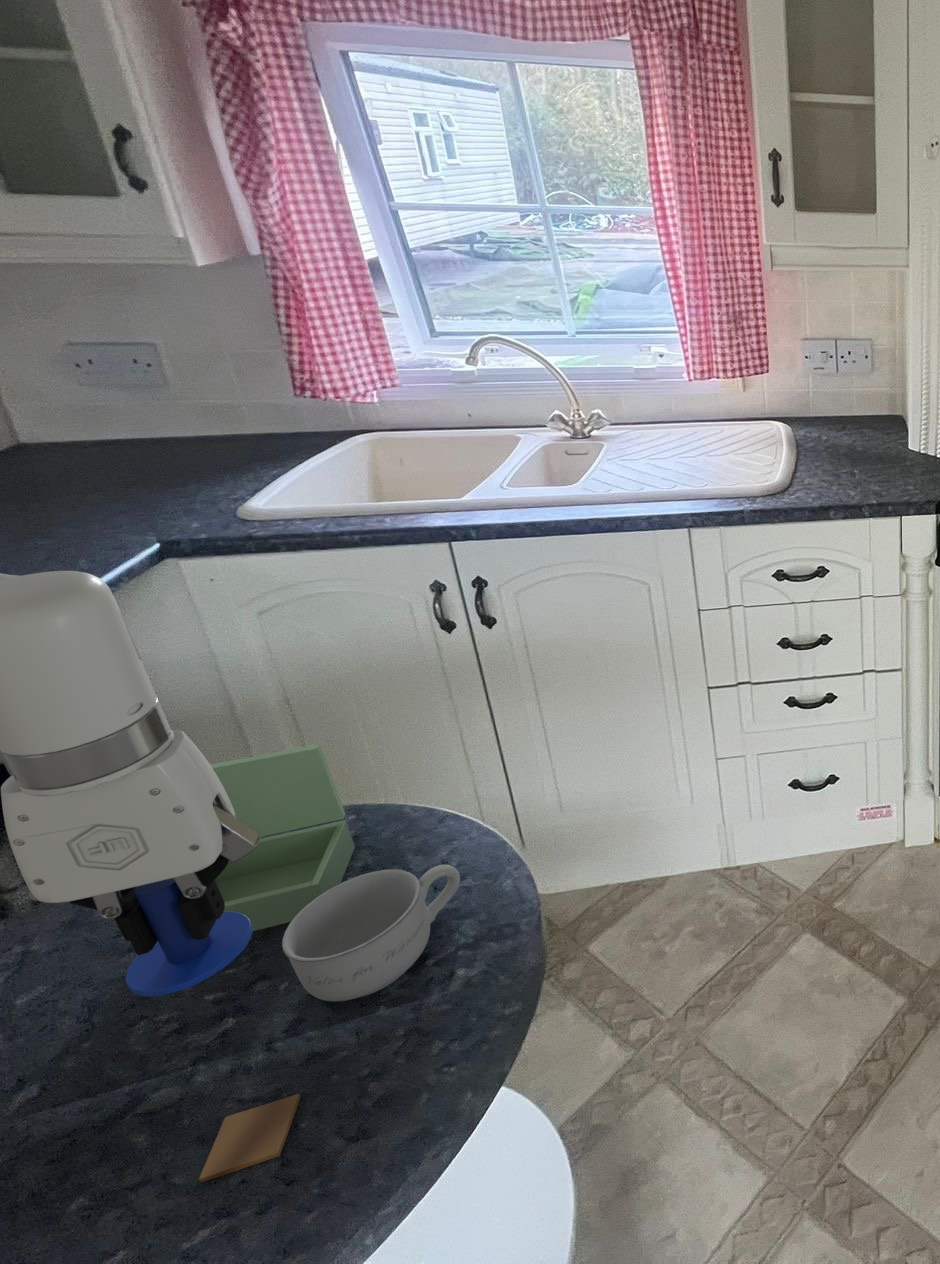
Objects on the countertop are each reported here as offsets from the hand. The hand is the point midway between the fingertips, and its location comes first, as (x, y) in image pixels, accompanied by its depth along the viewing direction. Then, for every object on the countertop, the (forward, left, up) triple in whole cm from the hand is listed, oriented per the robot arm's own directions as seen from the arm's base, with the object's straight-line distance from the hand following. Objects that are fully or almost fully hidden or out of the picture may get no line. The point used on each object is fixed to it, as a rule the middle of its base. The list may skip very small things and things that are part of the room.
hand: (181, 930), depth 64 cm
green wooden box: (-6, +24, -19) cm, 31 cm away
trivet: (+1, -5, -19) cm, 20 cm away
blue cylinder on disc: (0, 0, -3) cm, 3 cm away
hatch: (-6, +28, -9) cm, 30 cm away
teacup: (+8, +11, -19) cm, 23 cm away
